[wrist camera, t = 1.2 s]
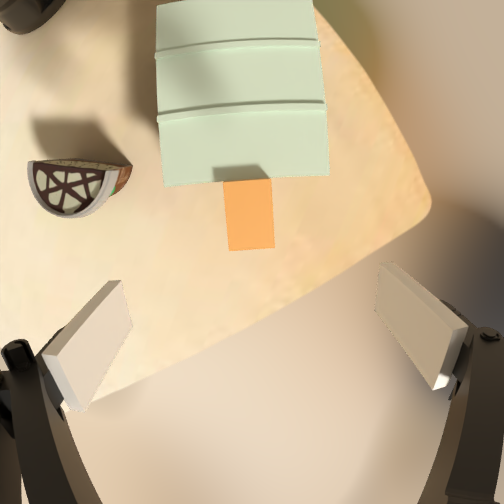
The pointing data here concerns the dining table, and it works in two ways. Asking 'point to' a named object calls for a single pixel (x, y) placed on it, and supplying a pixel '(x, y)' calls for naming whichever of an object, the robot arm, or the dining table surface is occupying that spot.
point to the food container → (75, 184)
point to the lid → (240, 103)
